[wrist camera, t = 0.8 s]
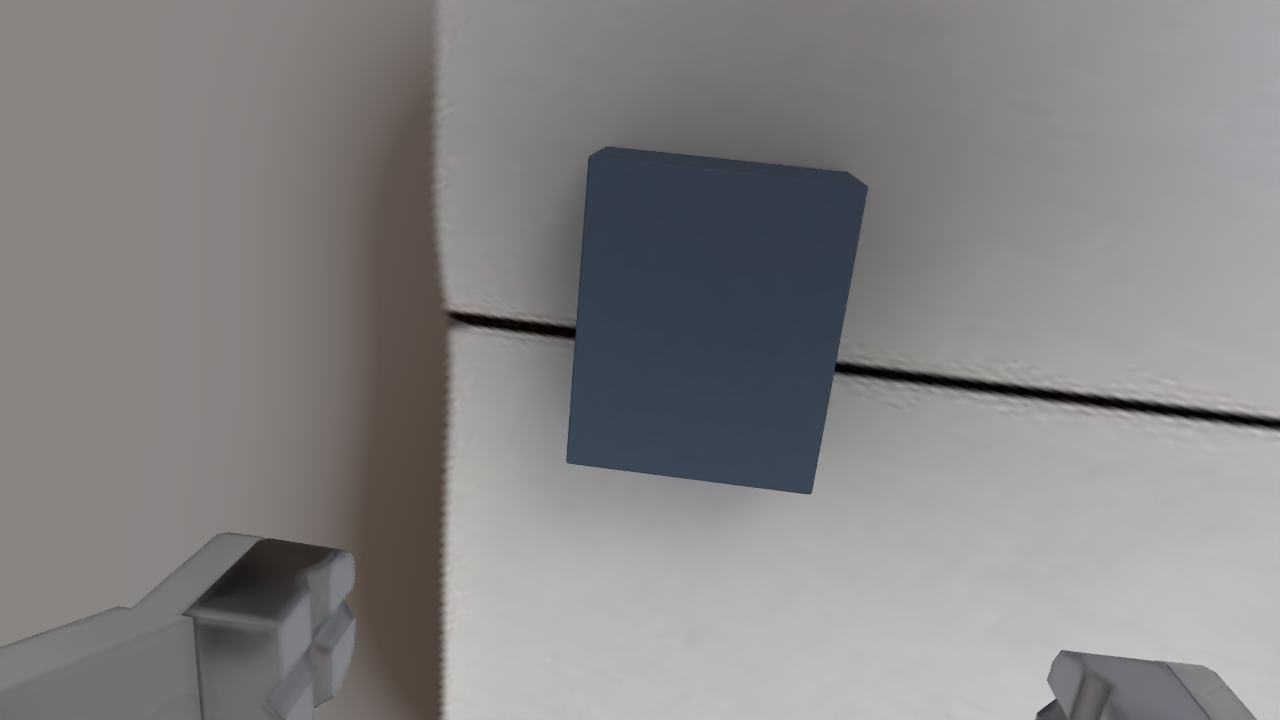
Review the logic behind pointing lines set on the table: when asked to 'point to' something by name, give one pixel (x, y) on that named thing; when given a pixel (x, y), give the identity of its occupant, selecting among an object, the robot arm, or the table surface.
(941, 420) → the table surface
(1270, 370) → the table surface
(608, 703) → the table surface
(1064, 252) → the table surface
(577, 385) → the slate pad
